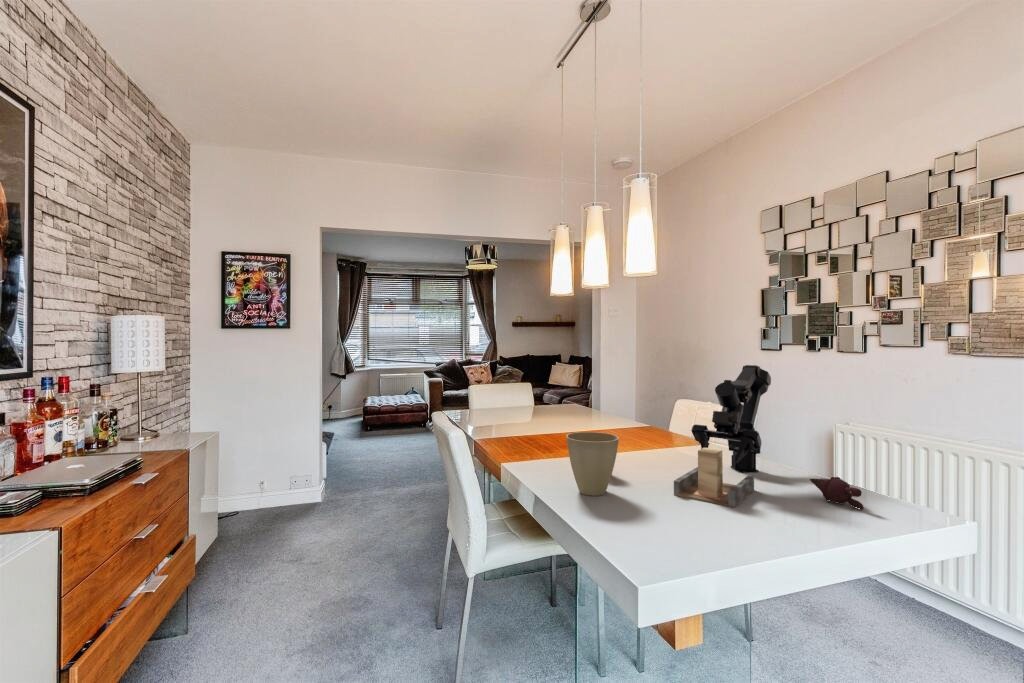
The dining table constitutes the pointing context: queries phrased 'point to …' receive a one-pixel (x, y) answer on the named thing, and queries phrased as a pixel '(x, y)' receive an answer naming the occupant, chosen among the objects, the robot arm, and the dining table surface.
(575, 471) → the plant pot
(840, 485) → the icecream
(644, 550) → the dining table surface
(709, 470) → the oak block
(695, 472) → the bay
